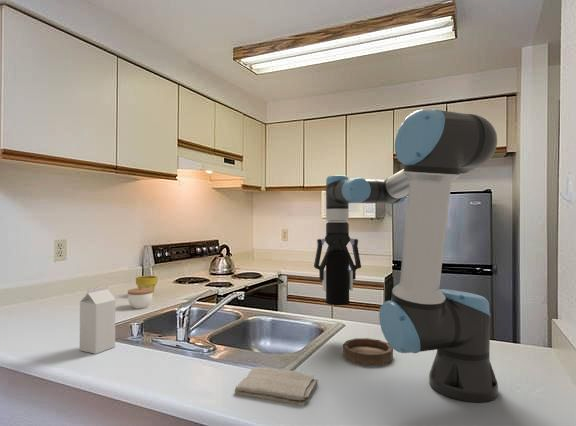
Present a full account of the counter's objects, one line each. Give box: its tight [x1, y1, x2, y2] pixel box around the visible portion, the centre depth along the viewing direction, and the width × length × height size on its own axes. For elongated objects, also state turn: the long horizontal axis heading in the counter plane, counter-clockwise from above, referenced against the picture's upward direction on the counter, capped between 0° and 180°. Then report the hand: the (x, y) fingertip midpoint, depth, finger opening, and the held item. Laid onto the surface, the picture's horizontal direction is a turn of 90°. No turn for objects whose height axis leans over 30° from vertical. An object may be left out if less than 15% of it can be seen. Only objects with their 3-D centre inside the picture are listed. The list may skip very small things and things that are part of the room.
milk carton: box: [79, 285, 116, 355], centre depth 118 cm, size 7×7×19 cm
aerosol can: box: [325, 249, 351, 306], centre depth 127 cm, size 8×8×20 cm
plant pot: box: [135, 275, 158, 295], centre depth 195 cm, size 10×10×10 cm
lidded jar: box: [127, 286, 154, 310], centre depth 172 cm, size 11×11×9 cm
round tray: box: [342, 337, 394, 367], centre depth 113 cm, size 14×14×3 cm
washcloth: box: [234, 366, 319, 406], centre depth 91 cm, size 12×18×3 cm, turn 73°
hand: (337, 289), depth 127 cm, fingers closed on aerosol can, 8 cm apart
